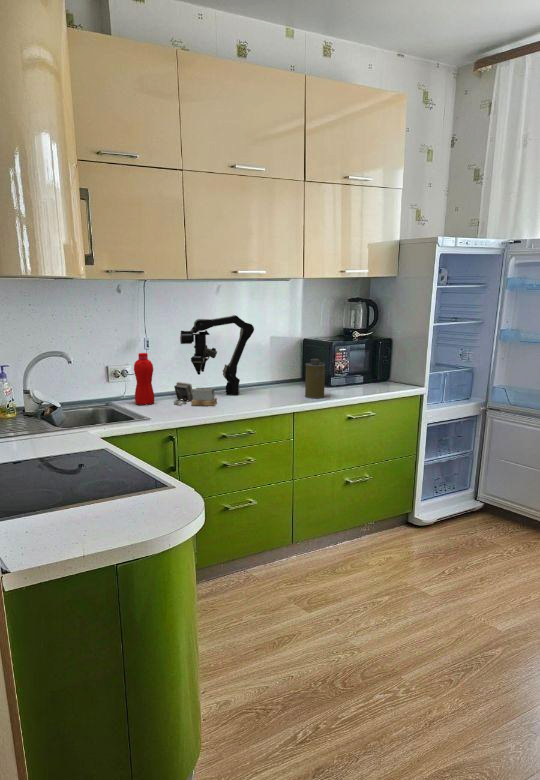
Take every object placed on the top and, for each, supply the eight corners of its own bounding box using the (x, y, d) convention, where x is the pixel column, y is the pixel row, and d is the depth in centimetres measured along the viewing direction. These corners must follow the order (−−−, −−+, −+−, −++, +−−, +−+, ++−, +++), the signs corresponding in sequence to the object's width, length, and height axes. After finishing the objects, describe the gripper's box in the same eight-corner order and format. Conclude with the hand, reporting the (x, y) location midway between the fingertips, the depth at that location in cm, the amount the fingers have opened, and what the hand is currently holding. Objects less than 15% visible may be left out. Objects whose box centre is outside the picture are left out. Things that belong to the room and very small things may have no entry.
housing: (196, 398, 273) (196, 386, 272) (214, 398, 272) (214, 387, 271) (193, 400, 268) (193, 388, 266) (212, 400, 267) (211, 389, 266)
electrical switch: (195, 400, 280) (193, 382, 277) (188, 403, 275) (186, 385, 273) (181, 398, 285) (179, 381, 282) (174, 401, 280) (172, 383, 278)
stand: (216, 403, 274) (216, 398, 273) (213, 406, 266) (213, 401, 265) (195, 402, 275) (194, 397, 274) (191, 406, 267) (191, 400, 266)
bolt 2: (186, 403, 273) (186, 400, 272) (186, 404, 271) (186, 400, 271) (176, 403, 271) (176, 400, 271) (176, 404, 270) (176, 401, 270)
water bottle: (153, 400, 279) (151, 351, 274) (155, 404, 269) (153, 354, 264) (134, 401, 277) (132, 351, 272) (135, 405, 267) (133, 354, 262)
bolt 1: (182, 405, 268) (182, 402, 267) (180, 406, 267) (180, 402, 266) (176, 404, 271) (176, 400, 270) (173, 404, 270) (173, 401, 269)
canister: (312, 399, 284) (313, 361, 280) (300, 395, 292) (301, 358, 288) (329, 397, 289) (330, 359, 286) (317, 393, 298) (318, 357, 294)
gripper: (212, 345, 276) (212, 376, 279) (218, 341, 294) (219, 370, 297) (190, 345, 277) (191, 376, 280) (198, 341, 295) (199, 370, 298)
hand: (200, 373), depth 289 cm, fingers open, 9 cm apart
